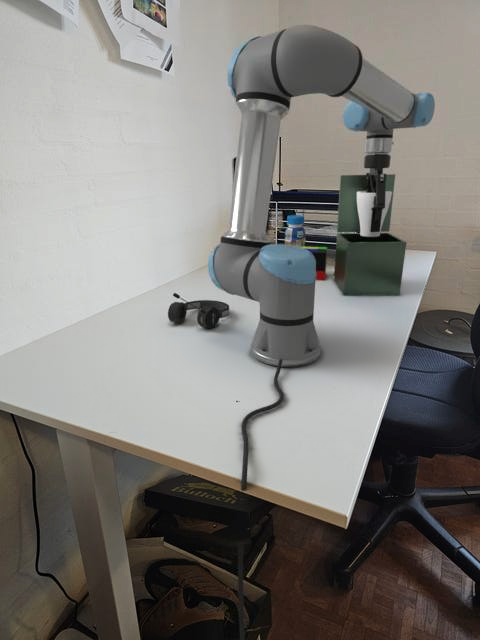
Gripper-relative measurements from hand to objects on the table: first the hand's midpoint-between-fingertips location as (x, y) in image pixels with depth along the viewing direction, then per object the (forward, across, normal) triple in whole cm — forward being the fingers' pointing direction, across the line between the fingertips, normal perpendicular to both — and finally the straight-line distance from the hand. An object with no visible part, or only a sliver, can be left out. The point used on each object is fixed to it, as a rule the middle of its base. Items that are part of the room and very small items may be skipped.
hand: (370, 229), depth 128 cm
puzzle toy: (+20, +15, +16) cm, 29 cm away
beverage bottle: (+20, +32, +21) cm, 43 cm away
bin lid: (-7, +9, 0) cm, 11 cm away
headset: (+20, -30, +52) cm, 63 cm away
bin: (+19, 0, 0) cm, 19 cm away
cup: (+2, 0, 0) cm, 2 cm away
